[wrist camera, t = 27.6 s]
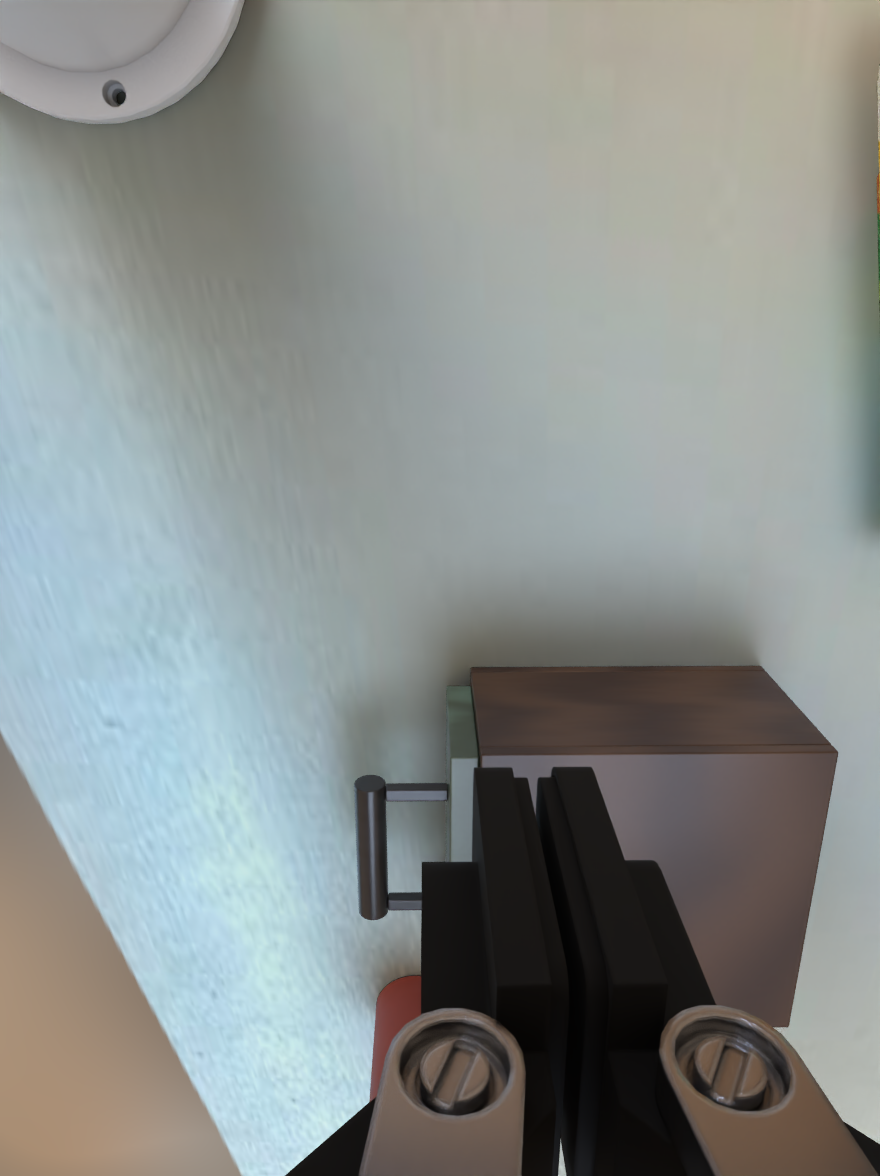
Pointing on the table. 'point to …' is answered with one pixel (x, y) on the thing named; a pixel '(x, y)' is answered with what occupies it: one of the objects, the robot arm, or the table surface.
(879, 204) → the puzzle game
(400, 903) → the drawer
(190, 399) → the table surface
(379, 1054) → the skittle
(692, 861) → the cabinet
